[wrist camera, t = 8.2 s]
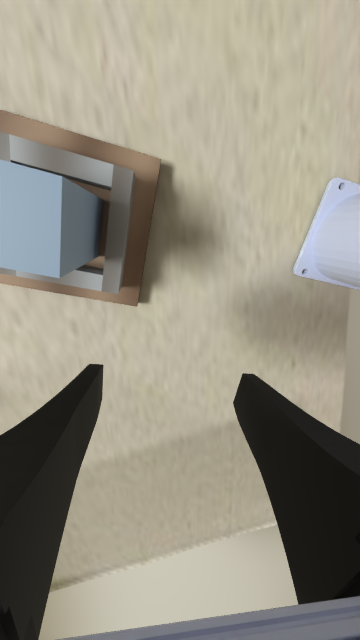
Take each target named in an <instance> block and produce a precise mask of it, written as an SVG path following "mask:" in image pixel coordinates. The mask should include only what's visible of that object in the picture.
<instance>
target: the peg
mask: <svg viewBox="0 0 360 640" xmlns="http://www.w3.org/2000/svg"><path fill="white" fill-rule="evenodd" d="M103 204H104V200H103V199H101V198H99V197H98V196H96V195H94V194H92V193H91V192H89V191H87V190H85V189H84V188H82V187H80V186H78V185H77V184H75V183H73V182H71V181H69V180H68V179H66V178H64V177H62V176H59V175H55V174H52V173H48V172H44V171H41V170H37V169H33V168H30V167H26V166H22V165H19V164H15V163H11V162H8V161H4V160H0V267H1V268H6V269H12V270H17V271H23V272H28V273H33V274H39V275H44V276H50V277H55V278H61V277H63V276H65V275H66V274H68V273H70V272H72V271H74V270H75V269H77V268H79V267H81V266H82V265H84V264H86V263H88V262H90V261H91V260H93V259H95V258H97V257H98V256H99V249H100V238H101V226H102V215H103Z"/></svg>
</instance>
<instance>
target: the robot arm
mask: <svg viewBox="0 0 360 640" xmlns="http://www.w3.org/2000/svg"><path fill="white" fill-rule="evenodd" d="M340 184H341V188H340V189H339V185H340ZM304 269H305V271H304V273H302V271H303V270H304ZM293 273H294V274H295V275H297V276H301V277H305V278H310V279H314V280H318V281H323V282H327V283H331V284H336V285H340V286H344V287H349V288H353V289H357V290H360V185H359V184H356V183H354V182H351V181H348V180H345V179H342V178H339V177H337V178H333V179H332V180H330V182H329V183H328V186H327V188H326V191H325V193H324V195H323V198H322V200H321V203H320V205H319V208H318V210H317V212H316V215H315V217H314V220H313V222H312V224H311V227H310V229H309V232H308V234H307V237H306V239H305V241H304V244H303V246H302V249H301V251H300V254H299V256H298V258H297V261H296V263H295V266H294V268H293ZM102 386H103V365H99V364H89V365H88V366H87V367H86V368H85V369H84V370H83V371H82V372H81V373H80V374H79V375H78V376H77V377H76V378H75V379H74V380H73V381H71V382H70V383H69V384H68V385H67V386H66V387H65V388H64V389H63V390H62V391H60V392H59V393H58V394H57V395H56V396H55V397H53V398H52V399H51V400H50V401H48V402H47V403H46V404H45V405H44V406H42V407H41V408H40V409H38V410H37V411H36V412H35V413H33V414H32V415H30V416H29V417H28V418H26V419H25V420H23V421H22V422H21V423H19V424H18V425H16V426H15V427H13V428H12V429H10V430H8V431H7V432H5V433H4V434H2V435H0V640H38V638H39V634H40V629H41V624H42V620H43V616H44V611H45V607H46V603H47V598H48V594H49V590H50V585H51V581H52V577H53V572H54V568H55V564H56V560H57V556H58V552H59V547H60V543H61V539H62V535H63V531H64V527H65V523H66V519H67V515H68V511H69V507H70V503H71V499H72V495H73V491H74V488H75V484H76V480H77V477H78V473H79V470H80V467H81V464H82V461H83V458H84V456H85V453H86V450H87V447H88V444H89V441H90V439H91V436H92V433H93V430H94V427H95V424H96V421H97V418H98V414H99V410H100V405H101V401H102ZM233 404H234V408H235V412H236V415H237V418H238V421H239V424H240V426H241V428H242V431H243V433H244V435H245V438H246V440H247V442H248V444H249V447H250V449H251V451H252V453H253V456H254V458H255V460H256V462H257V465H258V467H259V470H260V472H261V475H262V477H263V480H264V483H265V486H266V489H267V492H268V495H269V498H270V501H271V504H272V508H273V511H274V514H275V517H276V521H277V524H278V527H279V531H280V534H281V538H282V541H283V545H284V549H285V552H286V556H287V560H288V563H289V568H290V571H291V576H292V579H293V584H294V587H295V591H296V596H297V600H298V605H294V606H287V607H280V608H273V609H266V610H259V611H252V612H245V613H238V614H231V615H224V616H217V617H210V618H204V619H197V620H190V621H183V622H176V623H169V624H162V625H155V626H148V627H141V628H134V629H127V630H120V631H113V632H106V633H99V634H93V635H86V636H78V637H71V638H64V639H57V640H360V444H358V443H356V442H354V441H352V440H351V439H349V438H347V437H345V436H343V435H341V434H340V433H338V432H336V431H334V430H333V429H331V428H329V427H328V426H326V425H325V424H323V423H321V422H320V421H318V420H316V419H315V418H313V417H312V416H310V415H309V414H307V413H306V412H305V411H303V410H302V409H300V408H299V407H297V406H296V405H295V404H293V403H292V402H290V401H289V400H288V399H286V398H285V397H284V396H282V395H281V394H280V393H278V392H277V391H276V390H275V389H273V388H272V387H271V386H269V385H268V384H267V383H265V382H264V381H263V380H261V379H260V378H258V377H257V376H256V375H254V374H244V373H243V374H242V377H241V380H240V383H239V386H238V390H237V393H236V396H235V399H234V402H233Z"/></svg>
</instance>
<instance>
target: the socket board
mask: <svg viewBox="0 0 360 640" xmlns="http://www.w3.org/2000/svg"><path fill="white" fill-rule="evenodd" d="M0 160H4V161H8V162H11V163H15V164H19V165H22V166H26V167H30V168H33V169H37V170H41V171H44V172H48V173H52V174H55V175H59V176H62V177H64V178H66V179H68V180H69V181H71V182H73V183H75V184H77V185H78V186H80V187H82V188H84V189H85V190H87V191H89V192H91V193H92V194H94V195H96V196H98V197H99V198H101V199H103V200H104V204H103V215H102V226H101V238H100V249H99V256H98V257H97V258H95V259H93V260H91V261H90V262H88V263H86V264H84V265H82V266H81V267H79V268H77V269H75V270H74V271H72V272H70V273H68V274H66V275H65V276H63V277H61V278H55V277H50V276H44V275H39V274H33V273H28V272H23V271H17V270H12V269H6V268H1V267H0V283H1V284H7V285H13V286H19V287H25V288H31V289H37V290H43V291H49V292H54V293H60V294H66V295H72V296H78V297H84V298H90V299H96V300H102V301H108V302H113V303H119V304H125V305H131V306H137V305H138V298H139V292H140V286H141V280H142V274H143V268H144V261H145V255H146V249H147V243H148V237H149V231H150V224H151V218H152V212H153V206H154V200H155V194H156V187H157V181H158V175H159V169H160V163H161V159H158V158H155V157H152V156H148V155H145V154H142V153H139V152H135V151H132V150H129V149H126V148H123V147H119V146H116V145H113V144H110V143H106V142H103V141H100V140H97V139H93V138H90V137H87V136H84V135H80V134H77V133H74V132H71V131H67V130H64V129H61V128H58V127H54V126H51V125H48V124H45V123H42V122H38V121H35V120H32V119H29V118H25V117H22V116H19V115H16V114H12V113H9V112H6V111H3V110H0Z"/></svg>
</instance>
